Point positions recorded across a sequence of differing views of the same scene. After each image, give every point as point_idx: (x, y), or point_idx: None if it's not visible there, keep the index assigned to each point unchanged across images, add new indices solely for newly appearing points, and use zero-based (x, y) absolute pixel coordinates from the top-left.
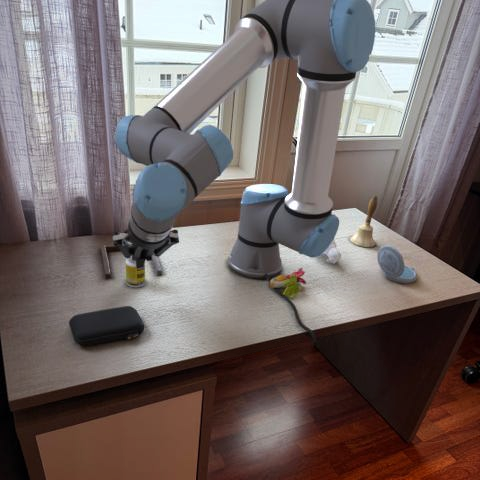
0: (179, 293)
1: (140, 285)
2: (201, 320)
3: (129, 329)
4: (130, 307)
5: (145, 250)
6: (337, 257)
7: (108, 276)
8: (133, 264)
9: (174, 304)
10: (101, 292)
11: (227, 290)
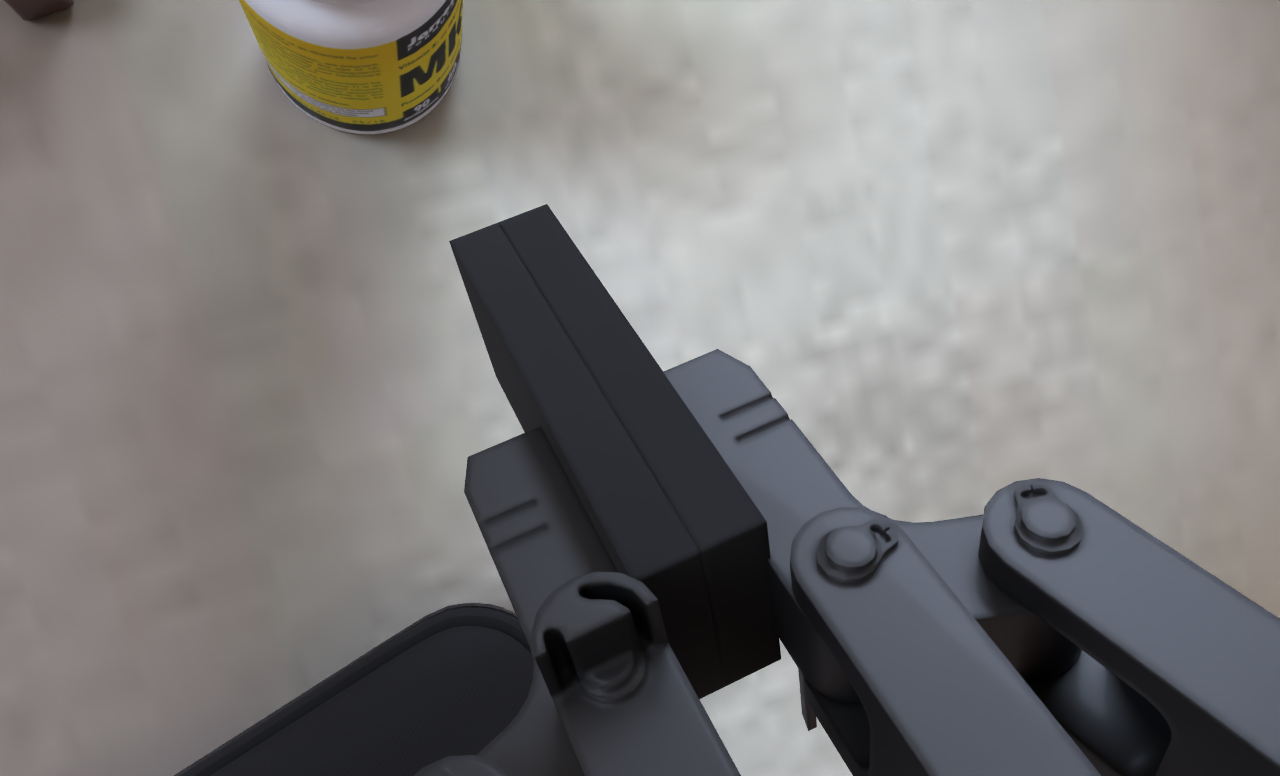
0: (815, 147)
1: (433, 108)
2: None
3: None
4: (490, 683)
5: (811, 643)
6: None
7: (45, 1)
8: (345, 21)
9: (809, 339)
10: (66, 292)
11: (1201, 11)
